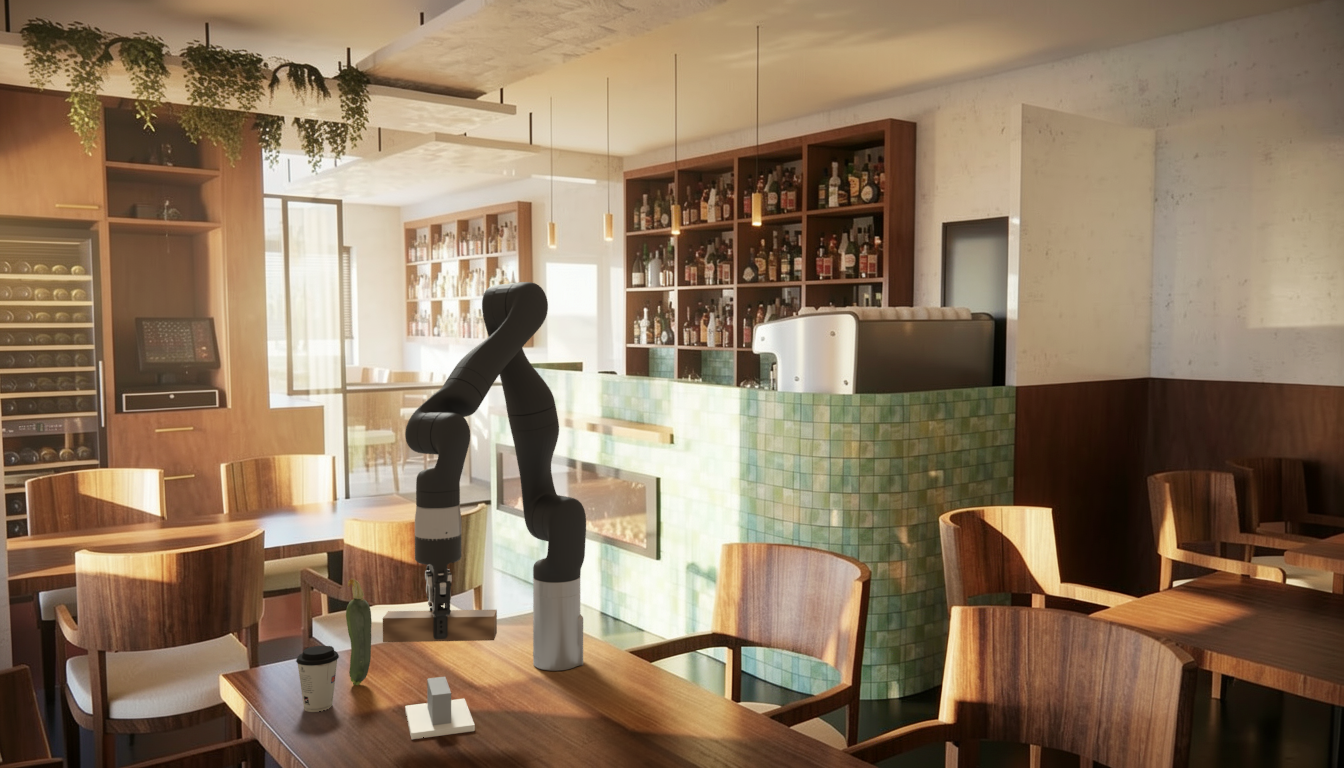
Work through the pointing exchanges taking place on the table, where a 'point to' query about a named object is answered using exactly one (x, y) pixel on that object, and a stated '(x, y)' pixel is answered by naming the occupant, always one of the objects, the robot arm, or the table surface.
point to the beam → (421, 626)
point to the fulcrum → (438, 713)
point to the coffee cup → (317, 677)
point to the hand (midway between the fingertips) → (438, 633)
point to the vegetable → (359, 633)
